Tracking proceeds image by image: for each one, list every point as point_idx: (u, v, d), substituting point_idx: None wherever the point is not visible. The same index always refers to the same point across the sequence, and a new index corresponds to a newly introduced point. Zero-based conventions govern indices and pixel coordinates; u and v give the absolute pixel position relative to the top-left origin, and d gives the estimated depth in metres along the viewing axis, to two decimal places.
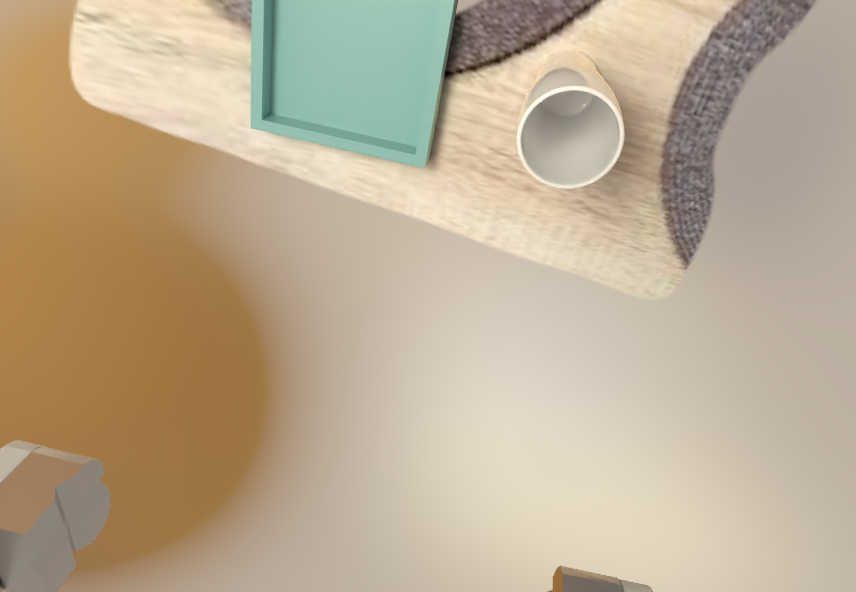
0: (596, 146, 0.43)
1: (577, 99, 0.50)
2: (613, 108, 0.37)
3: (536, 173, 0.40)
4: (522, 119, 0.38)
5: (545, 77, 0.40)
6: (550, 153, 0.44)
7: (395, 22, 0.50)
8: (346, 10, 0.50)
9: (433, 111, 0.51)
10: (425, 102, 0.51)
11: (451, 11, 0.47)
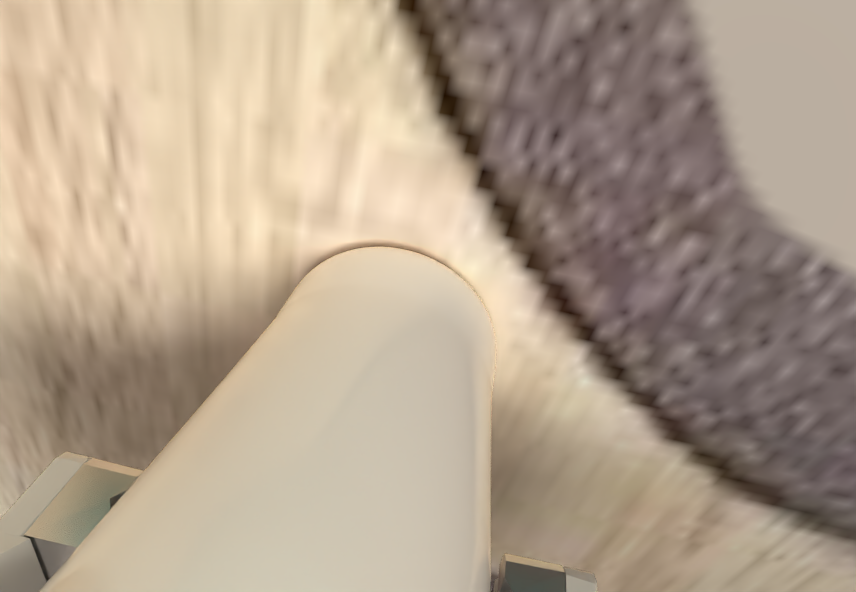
0: None
1: None
2: None
3: None
4: None
5: None
6: None
7: None
8: None
9: None
10: None
11: None
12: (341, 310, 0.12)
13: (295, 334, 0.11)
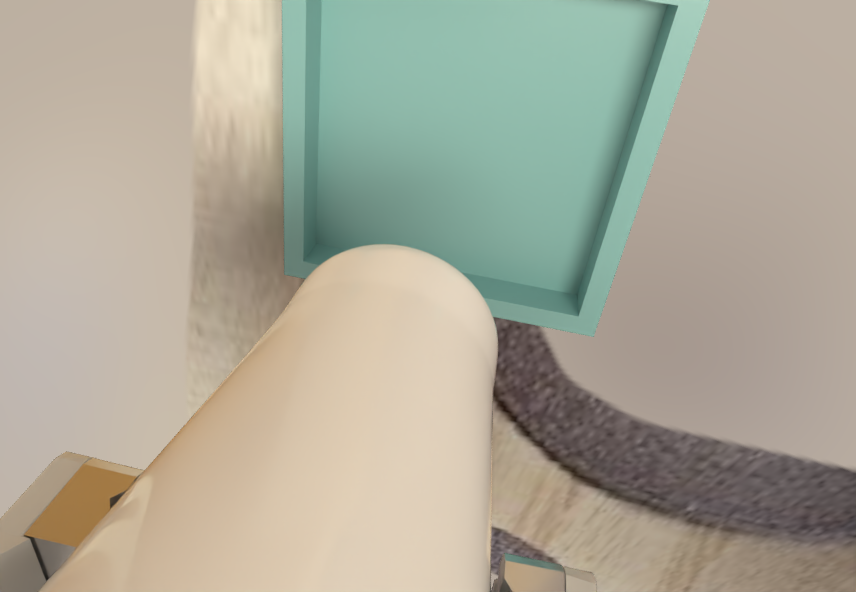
0: None
1: None
2: None
3: None
4: None
5: None
6: None
7: (512, 216, 0.30)
8: (532, 134, 0.28)
9: None
10: None
11: (531, 322, 0.31)
12: (347, 304, 0.12)
13: (302, 327, 0.11)
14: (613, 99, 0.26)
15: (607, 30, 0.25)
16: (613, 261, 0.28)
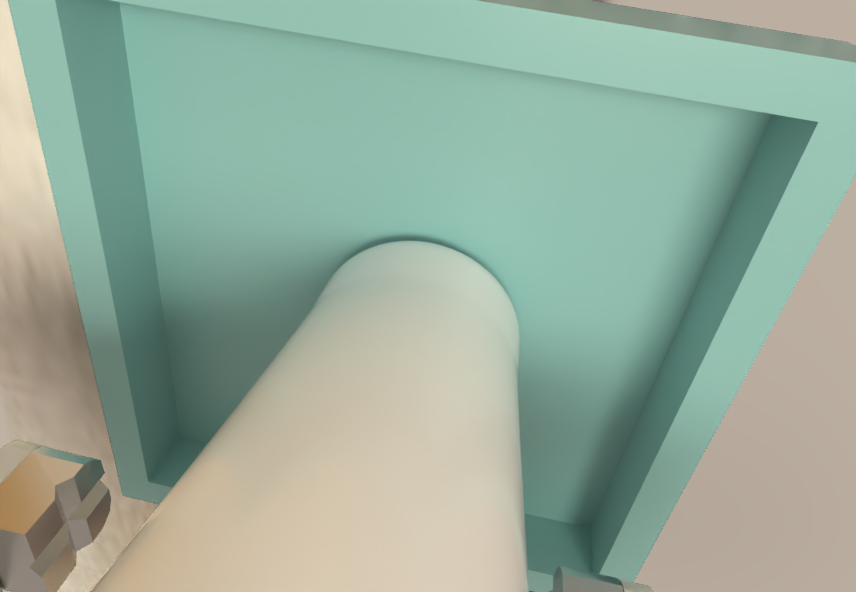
0: None
1: None
2: None
3: None
4: None
5: None
6: None
7: None
8: (515, 307, 0.16)
9: None
10: None
11: None
12: (380, 298, 0.12)
13: (340, 320, 0.12)
14: (661, 260, 0.14)
15: (655, 145, 0.13)
16: (655, 520, 0.16)
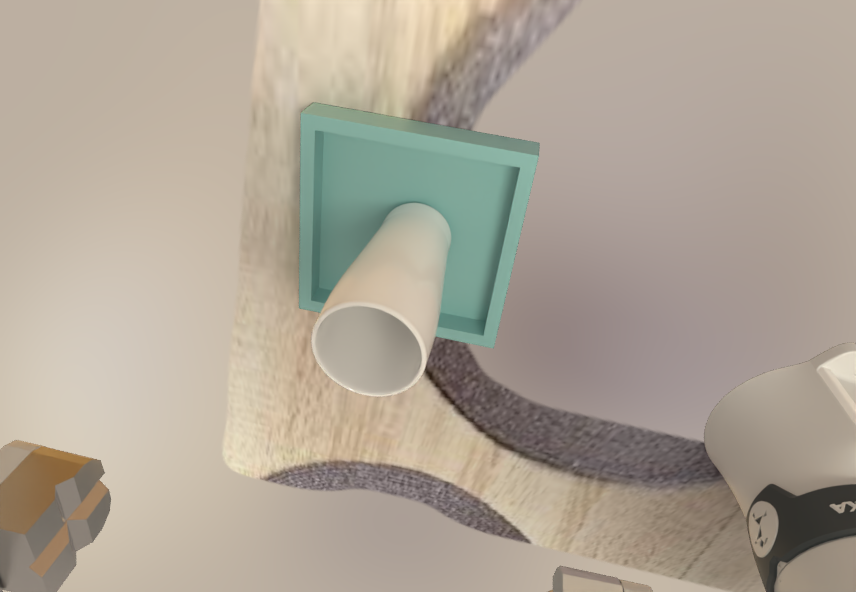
0: (361, 329, 0.40)
1: None
2: (406, 387, 0.35)
3: (323, 320, 0.33)
4: (383, 307, 0.32)
5: (428, 289, 0.36)
6: None
7: None
8: (450, 226, 0.46)
9: None
10: None
11: (454, 339, 0.49)
12: (405, 217, 0.42)
13: (394, 222, 0.42)
14: (496, 208, 0.44)
15: (488, 171, 0.43)
16: (500, 303, 0.46)
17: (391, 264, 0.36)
